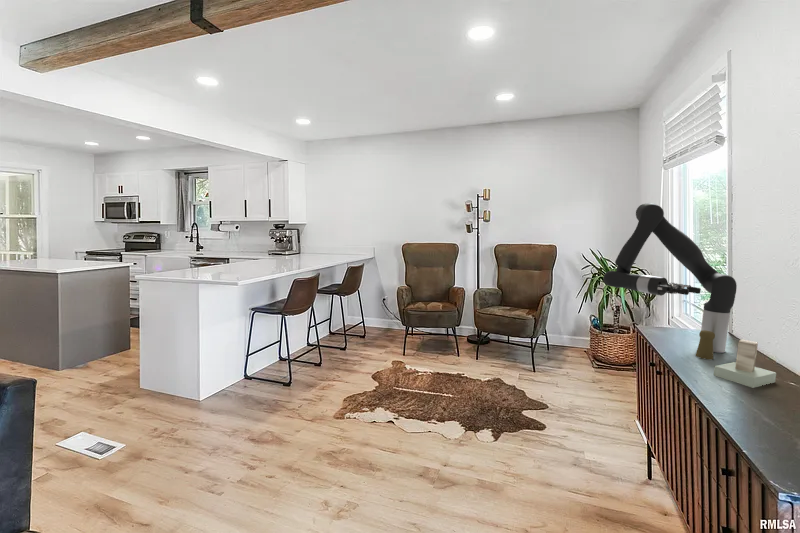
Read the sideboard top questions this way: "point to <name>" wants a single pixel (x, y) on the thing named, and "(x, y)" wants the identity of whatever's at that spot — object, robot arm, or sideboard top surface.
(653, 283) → the robot arm
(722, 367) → the sage block
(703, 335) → the brown rounded piece
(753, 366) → the maple block
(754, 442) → the sideboard top surface
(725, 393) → the sideboard top surface
